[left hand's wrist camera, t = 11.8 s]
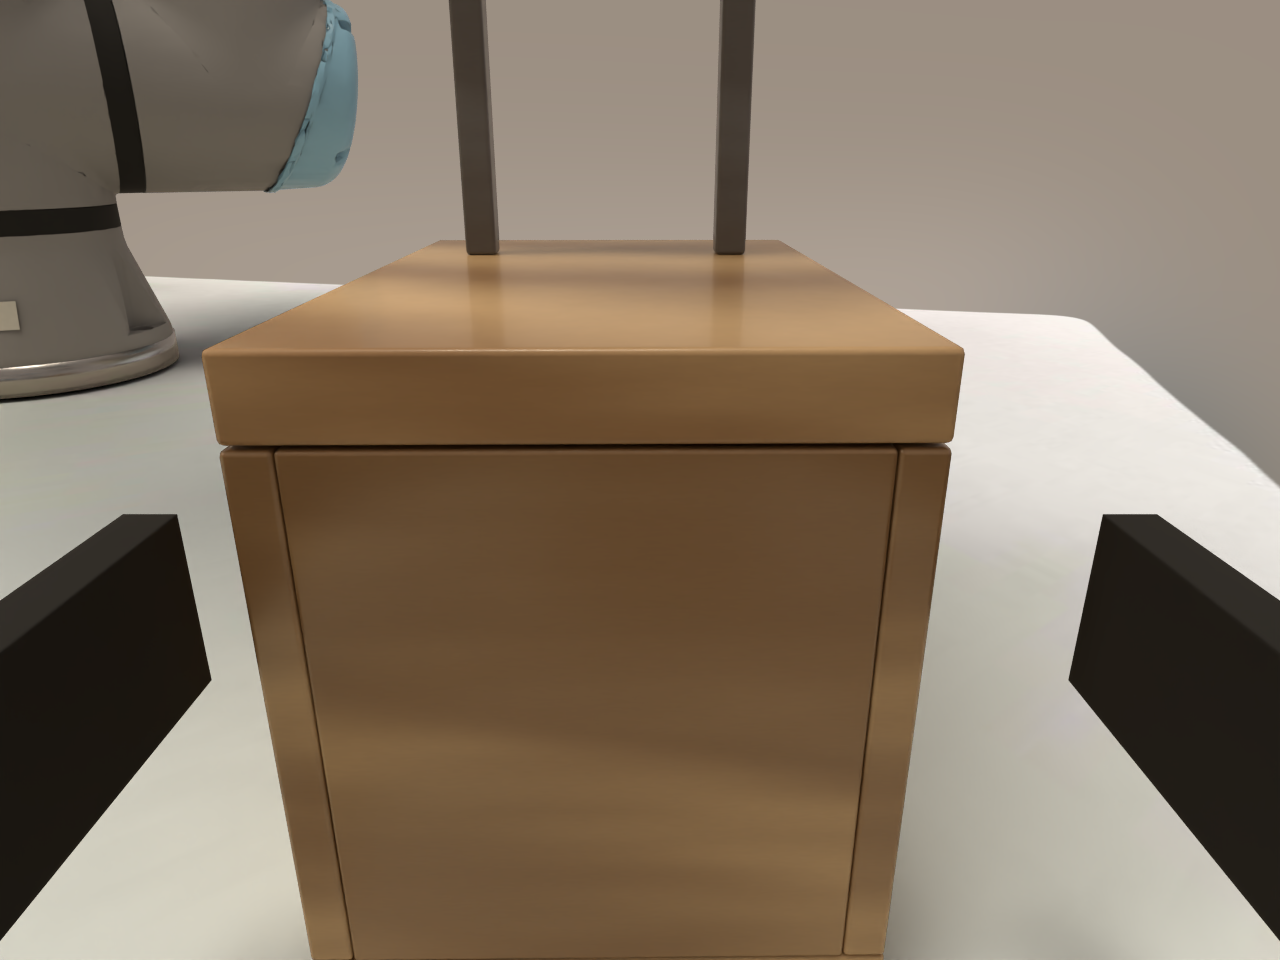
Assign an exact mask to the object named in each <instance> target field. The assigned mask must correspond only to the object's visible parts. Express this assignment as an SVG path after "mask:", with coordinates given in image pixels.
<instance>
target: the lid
mask: <svg viewBox="0 0 1280 960" xmlns="http://www.w3.org/2000/svg"><path fill="white" fill-rule="evenodd" d="M449 10H450V24H451V38H452V53H453V67H454V81H455V96H456V110H457V124H458V139H459V153H460V167H461V181H462V196H463V210H464V225H465V239H466V240H440V241H438V242H436V243H433V244H431V245H429V246H427V247H425V248H423V249H420V250H418V251H416V252H414V253H412V254H410V255H408V256H405V257H403V258H401V259H399V260H397V261H395V262H393V263H390V264H388V265H386V266H384V267H382V268H380V269H377V270H375V271H373V272H371V273H369V274H367V275H364V276H362V277H360V278H358V279H356V280H354V281H352V282H349V283H347V284H345V285H343V286H341V287H339V288H336V289H334V290H332V291H330V292H328V293H326V294H324V295H321V296H319V297H317V298H315V299H313V300H311V301H308V302H306V303H304V304H302V305H300V306H298V307H296V308H293V309H291V310H289V311H287V312H285V313H283V314H280V315H278V316H276V317H274V318H272V319H270V320H267V321H265V322H263V323H261V324H259V325H257V326H255V327H252V328H250V329H248V330H246V331H244V332H242V333H239V334H237V335H235V336H233V337H231V338H229V339H227V340H224V341H222V342H220V343H218V344H216V345H214V346H211V347H209V348H207V349H205V350H203V352H202V362H203V367H204V373H205V378H206V384H207V389H208V394H209V400H210V405H211V411H212V416H213V422H214V427H215V433H216V438H217V441H218V443H219V444H221V445H225V446H274V445H537V444H800V443H947V442H950V441H952V439H953V436H954V429H955V422H956V414H957V407H958V400H959V392H960V385H961V377H962V370H963V363H964V355H965V353H964V350H963V348H962V347H960V346H958V345H957V344H955V343H953V342H951V341H950V340H948V339H946V338H945V337H943V336H941V335H940V334H938V333H936V332H934V331H933V330H931V329H929V328H928V327H926V326H924V325H922V324H921V323H919V322H917V321H916V320H914V319H912V318H911V317H909V316H907V315H905V314H904V313H902V312H900V311H899V310H897V309H895V308H894V307H892V306H890V305H888V304H887V303H885V302H883V301H882V300H880V299H878V298H876V297H875V296H873V295H871V294H870V293H868V292H866V291H865V290H863V289H861V288H859V287H858V286H856V285H854V284H853V283H851V282H849V281H847V280H846V279H844V278H842V277H841V276H839V275H837V274H835V273H834V272H832V271H830V270H829V269H827V268H825V267H824V266H822V265H820V264H818V263H817V262H815V261H813V260H812V259H810V258H808V257H807V256H805V255H803V254H801V253H800V252H798V251H796V250H795V249H793V248H791V247H789V246H788V245H786V244H784V243H783V242H781V241H779V240H745V239H746V215H747V191H748V167H749V144H750V120H751V96H752V72H753V48H754V25H755V0H720V27H719V62H718V96H717V130H716V165H715V199H714V234H713V240H499V229H498V211H497V193H496V176H495V158H494V141H493V122H492V105H491V87H490V69H489V52H488V34H487V16H486V0H449Z"/></svg>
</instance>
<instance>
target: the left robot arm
mask: <svg viewBox="0 0 1280 960" xmlns="http://www.w3.org/2000/svg"><path fill="white" fill-rule="evenodd" d="M210 681H211V675H210V670H209V665H208V661H207V656H206V651H205V646H204V641H203V637H202V632H201V627H200V622H199V617H198V613H197V608H196V603H195V598H194V593H193V589H192V584H191V579H190V574H189V570H188V565H187V560H186V555H185V550H184V546H183V541H182V536H181V531H180V526H179V522H178V517H177V514H123V515H121V516H120V517H119V518H117V519H116V520H114V521H113V522H111V523H110V524H109V525H107V526H106V527H104V528H103V529H101V530H100V531H99V532H97V533H96V534H94V535H93V536H92V537H90V538H89V539H87V540H86V541H84V542H83V543H82V544H80V545H79V546H77V547H76V548H74V549H73V550H72V551H70V552H69V553H67V554H66V555H64V556H63V557H62V558H60V559H59V560H57V561H56V562H54V563H53V564H52V565H50V566H49V567H47V568H46V569H45V570H43V571H42V572H40V573H39V574H37V575H36V576H35V577H33V578H32V579H30V580H29V581H27V582H26V583H25V584H23V585H22V586H20V587H19V588H17V589H16V590H15V591H13V592H12V593H10V594H9V595H8V596H6V597H5V598H3V599H2V600H0V940H1V939H2V938H3V937H4V936H5V934H6V933H7V932H8V931H9V929H10V928H11V927H12V926H13V924H14V923H15V922H16V921H17V919H18V918H19V917H20V916H21V915H22V913H23V912H24V911H25V910H26V908H27V907H28V906H29V905H30V903H31V902H32V901H33V900H34V898H35V897H36V896H37V895H38V894H39V892H40V891H41V890H42V889H43V887H44V886H45V885H46V884H47V882H48V881H49V880H50V879H51V878H52V876H53V875H54V874H55V873H56V871H57V870H58V869H59V868H60V866H61V865H62V864H63V863H64V861H65V860H66V859H67V858H68V857H69V855H70V854H71V853H72V852H73V850H74V849H75V848H76V847H77V845H78V844H79V843H80V842H81V840H82V839H83V838H84V837H85V836H86V834H87V833H88V832H89V831H90V829H91V828H92V827H93V826H94V824H95V823H96V822H97V821H98V820H99V818H100V817H101V816H102V815H103V813H104V812H105V811H106V810H107V808H108V807H109V806H110V805H111V803H112V802H113V801H114V800H115V799H116V797H117V796H118V795H119V794H120V792H121V791H122V790H123V789H124V787H125V786H126V785H127V784H128V782H129V781H130V780H131V779H132V778H133V776H134V775H135V774H136V773H137V771H138V770H139V769H140V768H141V766H142V765H143V764H144V763H145V761H146V760H147V759H148V758H149V757H150V755H151V754H152V753H153V752H154V750H155V749H156V748H157V747H158V745H159V744H160V743H161V742H162V741H163V739H164V738H165V737H166V736H167V734H168V733H169V732H170V731H171V729H172V728H173V727H174V726H175V724H176V723H177V722H178V721H179V720H180V718H181V717H182V716H183V715H184V713H185V712H186V711H187V710H188V708H189V707H190V706H191V705H192V703H193V702H194V701H195V700H196V699H197V697H198V696H199V695H200V694H201V692H202V691H203V690H204V689H205V687H206V686H207V685H208V684H209V683H210ZM1069 681H1070V683H1071V684H1072V685H1073V686H1074V687H1075V689H1076V690H1077V691H1078V692H1079V694H1080V695H1081V696H1082V697H1083V699H1084V700H1085V701H1086V702H1087V703H1088V705H1089V706H1090V707H1091V708H1092V710H1093V711H1094V712H1095V713H1096V715H1097V716H1098V717H1099V718H1100V720H1101V721H1102V722H1103V723H1104V724H1105V726H1106V727H1107V728H1108V729H1109V731H1110V732H1111V733H1112V734H1113V736H1114V737H1115V738H1116V739H1117V741H1118V742H1119V743H1120V744H1121V745H1122V747H1123V748H1124V749H1125V750H1126V752H1127V753H1128V754H1129V755H1130V757H1131V758H1132V759H1133V760H1134V761H1135V763H1136V764H1137V765H1138V766H1139V768H1140V769H1141V770H1142V771H1143V773H1144V774H1145V775H1146V776H1147V778H1148V779H1149V780H1150V781H1151V782H1152V784H1153V785H1154V786H1155V787H1156V789H1157V790H1158V791H1159V792H1160V794H1161V795H1162V796H1163V797H1164V799H1165V800H1166V801H1167V802H1168V803H1169V805H1170V806H1171V807H1172V808H1173V810H1174V811H1175V812H1176V813H1177V815H1178V816H1179V817H1180V818H1181V820H1182V821H1183V822H1184V823H1185V824H1186V826H1187V827H1188V828H1189V829H1190V831H1191V832H1192V833H1193V834H1194V836H1195V837H1196V838H1197V839H1198V840H1199V842H1200V843H1201V844H1202V845H1203V847H1204V848H1205V849H1206V850H1207V852H1208V853H1209V854H1210V855H1211V857H1212V858H1213V859H1214V860H1215V861H1216V863H1217V864H1218V865H1219V866H1220V868H1221V869H1222V870H1223V871H1224V873H1225V874H1226V875H1227V876H1228V878H1229V879H1230V880H1231V881H1232V882H1233V884H1234V885H1235V886H1236V887H1237V889H1238V890H1239V891H1240V892H1241V894H1242V895H1243V896H1244V897H1245V898H1246V900H1247V901H1248V902H1249V903H1250V905H1251V906H1252V907H1253V908H1254V910H1255V911H1256V912H1257V913H1258V915H1259V916H1260V917H1261V918H1262V919H1263V921H1264V922H1265V923H1266V924H1267V926H1268V927H1269V928H1270V929H1271V931H1272V932H1273V933H1274V934H1275V936H1276V937H1277V938H1278V939H1279V940H1280V600H1278V599H1277V598H1275V597H1274V596H1272V595H1271V594H1270V593H1268V592H1267V591H1265V590H1264V589H1263V588H1261V587H1260V586H1258V585H1257V584H1255V583H1254V582H1253V581H1251V580H1250V579H1248V578H1247V577H1245V576H1244V575H1243V574H1241V573H1240V572H1238V571H1237V570H1235V569H1234V568H1233V567H1231V566H1230V565H1228V564H1227V563H1226V562H1224V561H1223V560H1221V559H1220V558H1218V557H1217V556H1216V555H1214V554H1213V553H1211V552H1210V551H1208V550H1207V549H1206V548H1204V547H1203V546H1201V545H1200V544H1198V543H1197V542H1196V541H1194V540H1193V539H1191V538H1190V537H1188V536H1187V535H1186V534H1184V533H1183V532H1181V531H1180V530H1179V529H1177V528H1176V527H1174V526H1173V525H1171V524H1170V523H1169V522H1167V521H1166V520H1164V519H1163V518H1161V517H1160V516H1159V515H1157V514H1103V517H1102V522H1101V526H1100V531H1099V536H1098V541H1097V546H1096V550H1095V555H1094V560H1093V565H1092V569H1091V574H1090V579H1089V584H1088V589H1087V593H1086V598H1085V603H1084V608H1083V613H1082V617H1081V622H1080V627H1079V632H1078V637H1077V641H1076V646H1075V651H1074V656H1073V661H1072V665H1071V670H1070V675H1069Z"/></svg>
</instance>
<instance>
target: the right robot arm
mask: <svg viewBox="0 0 1280 960" xmlns="http://www.w3.org/2000/svg"><path fill="white" fill-rule="evenodd" d="M357 96H358V70H357V54H356V45H355V40H354V36H353V35H352V34H351V23H350V20H349V18H348V15H347V14H346V12H345V11H344V9H343V8H341V7H340V6H339V5H337V4H334V3H332V2H331V1H330V0H0V399H5V398H18V397H28V396H38V395H46V394H54V393H62V392H69V391H75V390H81V389H87V388H93V387H98V386H103V385H108V384H113V383H117V382H122V381H126V380H130V379H134V378H137V377H141V376H144V375H147V374H151V373H153V372H156V371H159V370H161V369H164V368H166V367H168V366H170V365H171V364H173V363H174V362H175V361H177V360H178V358H179V351H178V345H177V340H176V335H175V330H174V328H172V325H171V322H170V321H169V319H168V317H167V315H166V313H165V312H164V310H163V308H162V306H161V305H160V303H159V301H158V299H157V298H156V296H155V294H154V292H153V290H152V289H151V287H150V285H149V283H148V282H147V280H146V278H145V276H144V275H143V273H142V271H141V269H140V268H139V266H138V264H137V262H136V261H135V259H134V257H133V255H132V253H131V252H130V250H129V248H128V246H127V244H126V241H125V239H124V235H123V231H122V227H121V222H120V217H119V212H118V208H117V202H116V194H118V193H164V192H216V191H264V192H268V193H271V192H274V193H275V192H277V191H278V190H281V189H296V188H310V187H319V186H323V185H326V184H327V183H329V182H331V181H332V180H333V179H335V178H336V177H337V175H338V174H339V173H340V171H341V170H342V168H343V166H344V164H345V162H346V160H347V157H348V154H349V150H350V146H351V143H352V139H353V133H354V128H355V121H356V111H357Z"/></svg>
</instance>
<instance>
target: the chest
mask: <svg viewBox="0 0 1280 960" xmlns="http://www.w3.org/2000/svg"><path fill="white" fill-rule="evenodd" d="M951 454H952V453H951V450H950V448H949V447H948V446H947V445H946V444H944V443H800V444H537V445H274V446H228V447H227V448H225V449H224V450H223V451H221V453H220V462H221V467H222V473H223V478H224V484H225V489H226V495H227V500H228V505H229V511H230V516H231V522H232V527H233V533H234V538H235V543H236V549H237V554H238V560H239V565H240V571H241V576H242V582H243V587H244V592H245V598H246V603H247V609H248V614H249V620H250V625H251V630H252V636H253V641H254V647H255V652H256V658H257V663H258V668H259V674H260V679H261V685H262V690H263V696H264V701H265V707H266V712H267V717H268V723H269V728H270V734H271V739H272V745H273V750H274V755H275V761H276V766H277V772H278V777H279V783H280V788H281V794H282V799H283V804H284V810H285V815H286V821H287V826H288V832H289V837H290V842H291V848H292V853H293V859H294V864H295V870H296V875H297V880H298V886H299V891H300V897H301V902H302V908H303V913H304V919H305V924H306V929H307V935H308V940H309V946H310V951H311V957H312V959H313V960H883V957H884V956H883V952H884V947H885V939H886V932H887V925H888V917H889V910H890V903H891V895H892V888H893V881H894V873H895V866H896V859H897V851H898V844H899V836H900V829H901V822H902V814H903V807H904V800H905V792H906V785H907V778H908V770H909V763H910V755H911V748H912V741H913V733H914V726H915V719H916V711H917V704H918V697H919V689H920V682H921V674H922V667H923V660H924V652H925V645H926V638H927V630H928V623H929V616H930V608H931V601H932V594H933V586H934V579H935V571H936V564H937V557H938V549H939V542H940V535H941V527H942V520H943V513H944V505H945V498H946V491H947V483H948V476H949V468H950V461H951Z"/></svg>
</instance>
